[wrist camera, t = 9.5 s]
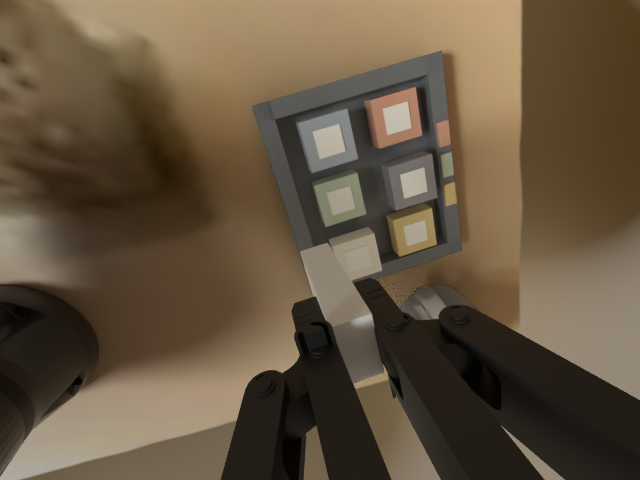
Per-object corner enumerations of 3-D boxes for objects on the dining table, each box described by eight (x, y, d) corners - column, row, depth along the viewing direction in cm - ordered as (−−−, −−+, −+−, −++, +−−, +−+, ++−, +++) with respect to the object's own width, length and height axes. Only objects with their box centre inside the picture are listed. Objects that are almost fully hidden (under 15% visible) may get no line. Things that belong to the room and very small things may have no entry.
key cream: (338, 274, 36) (343, 284, 34) (328, 239, 35) (332, 247, 33) (376, 262, 37) (382, 271, 35) (368, 226, 35) (374, 233, 33)
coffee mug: (470, 330, 47) (521, 384, 38) (405, 357, 47) (441, 417, 38) (454, 251, 42) (510, 291, 32) (381, 280, 41) (416, 329, 32)
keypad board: (311, 287, 40) (315, 300, 37) (252, 106, 32) (251, 106, 29) (450, 242, 41) (463, 251, 38) (428, 54, 33) (443, 49, 30)
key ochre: (392, 249, 38) (400, 257, 36) (386, 214, 37) (393, 221, 35) (428, 238, 39) (437, 244, 37) (423, 203, 37) (432, 208, 35)
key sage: (321, 220, 36) (325, 227, 34) (310, 181, 34) (314, 186, 32) (360, 208, 36) (366, 214, 34) (351, 169, 34) (357, 173, 32)
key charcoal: (388, 205, 34) (396, 211, 33) (380, 164, 33) (388, 167, 31) (428, 192, 35) (438, 197, 33) (422, 151, 33) (432, 154, 31)
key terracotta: (372, 146, 34) (379, 148, 32) (363, 100, 32) (370, 100, 30) (413, 134, 34) (422, 135, 32) (406, 88, 32) (416, 86, 30)
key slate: (308, 169, 32) (312, 173, 30) (295, 122, 30) (298, 123, 28) (352, 155, 32) (358, 159, 30) (341, 108, 30) (347, 108, 28)
